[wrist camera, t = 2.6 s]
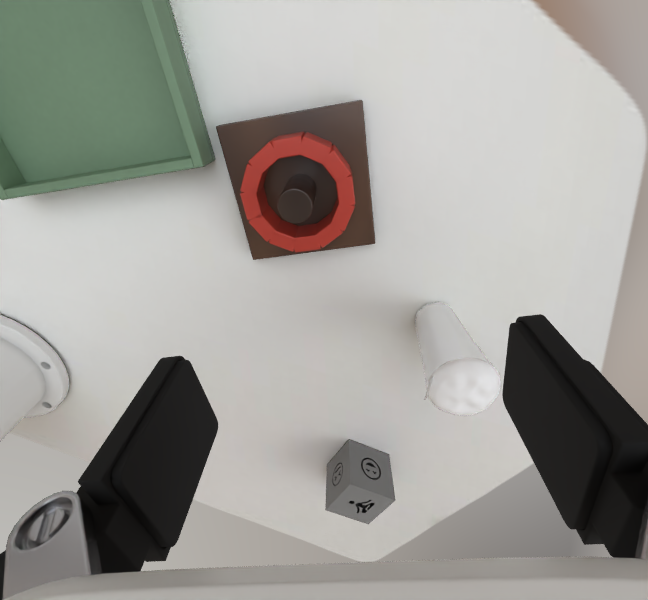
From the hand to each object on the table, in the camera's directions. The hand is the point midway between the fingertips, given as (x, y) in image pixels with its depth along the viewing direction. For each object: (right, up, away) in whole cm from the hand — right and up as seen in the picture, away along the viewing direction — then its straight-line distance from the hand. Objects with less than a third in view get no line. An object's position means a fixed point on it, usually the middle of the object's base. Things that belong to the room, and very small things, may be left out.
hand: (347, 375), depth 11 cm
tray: (-16, +17, +10) cm, 26 cm away
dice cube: (+3, -15, +29) cm, 33 cm away
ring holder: (-2, +10, +14) cm, 17 cm away
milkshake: (+8, +1, +19) cm, 21 cm away
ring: (-2, +10, +13) cm, 16 cm away
